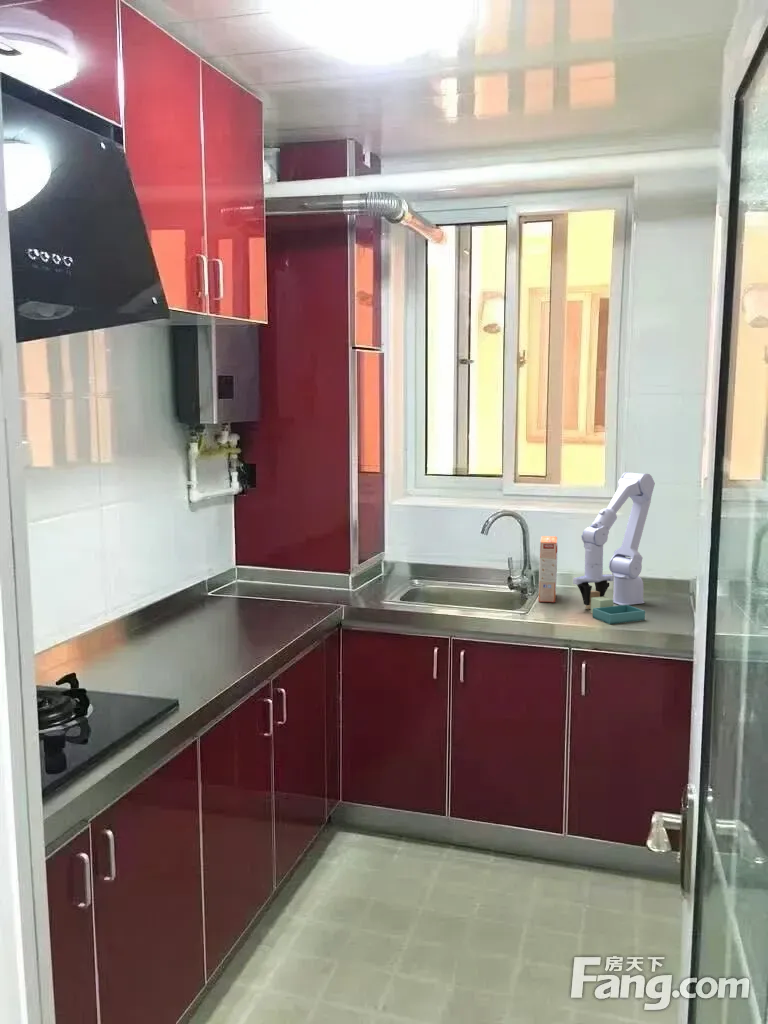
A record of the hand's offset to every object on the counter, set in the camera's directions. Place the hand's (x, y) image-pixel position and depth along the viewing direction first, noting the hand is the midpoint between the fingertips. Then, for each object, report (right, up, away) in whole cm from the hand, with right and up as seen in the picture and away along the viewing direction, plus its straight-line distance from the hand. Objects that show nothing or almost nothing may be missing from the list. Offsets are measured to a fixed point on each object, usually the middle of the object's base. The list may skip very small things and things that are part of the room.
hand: (592, 604), depth 288 cm
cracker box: (-12, 0, +15) cm, 19 cm away
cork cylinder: (0, -1, 0) cm, 1 cm away
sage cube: (+1, -2, -7) cm, 7 cm away
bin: (+5, -3, -14) cm, 15 cm away
